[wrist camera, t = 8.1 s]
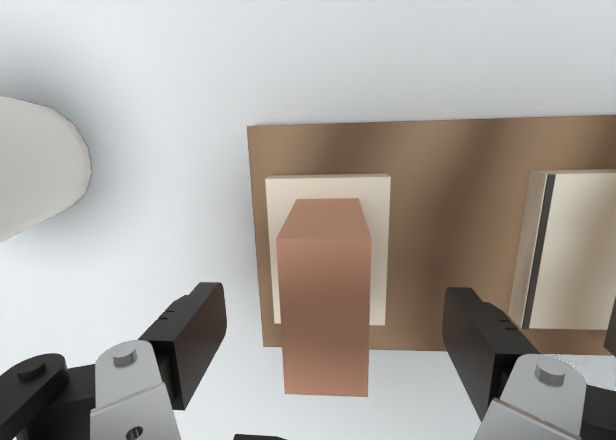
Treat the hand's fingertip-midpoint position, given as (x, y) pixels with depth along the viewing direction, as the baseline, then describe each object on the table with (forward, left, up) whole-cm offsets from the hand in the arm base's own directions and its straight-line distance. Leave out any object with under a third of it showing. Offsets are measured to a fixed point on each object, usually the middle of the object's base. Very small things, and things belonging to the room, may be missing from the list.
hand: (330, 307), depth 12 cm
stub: (0, 0, -6) cm, 6 cm away
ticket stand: (-7, 0, -8) cm, 11 cm away
